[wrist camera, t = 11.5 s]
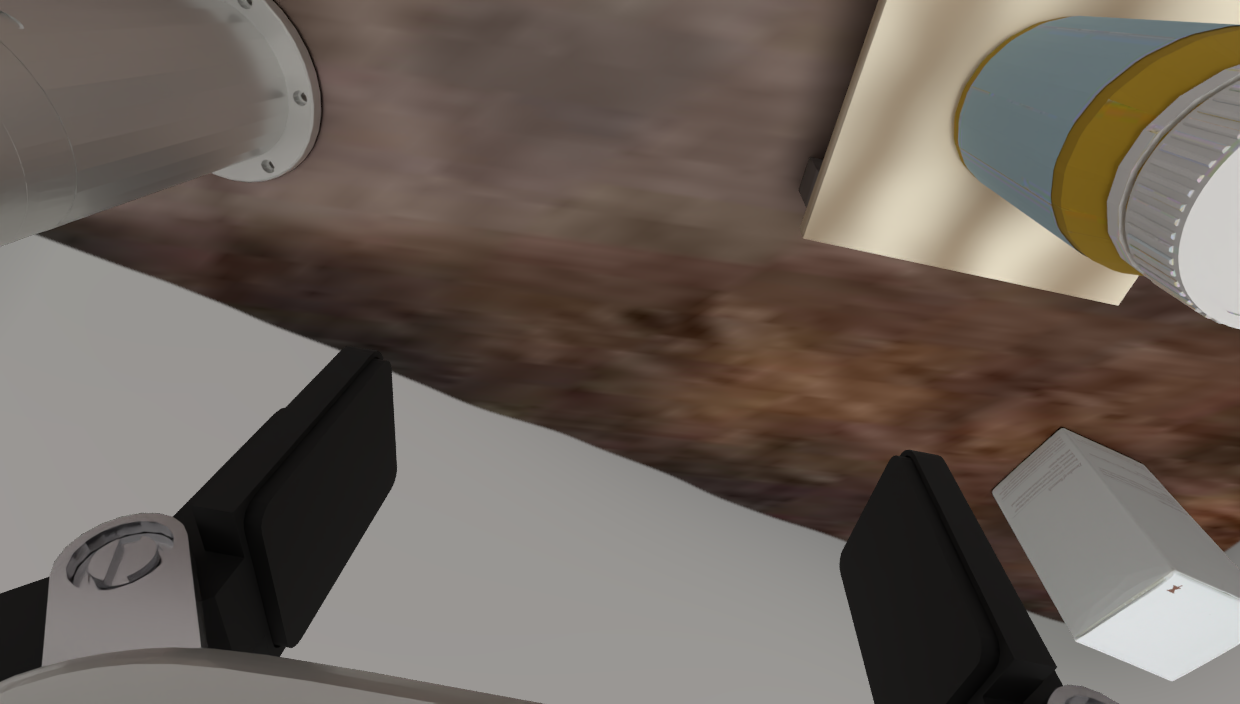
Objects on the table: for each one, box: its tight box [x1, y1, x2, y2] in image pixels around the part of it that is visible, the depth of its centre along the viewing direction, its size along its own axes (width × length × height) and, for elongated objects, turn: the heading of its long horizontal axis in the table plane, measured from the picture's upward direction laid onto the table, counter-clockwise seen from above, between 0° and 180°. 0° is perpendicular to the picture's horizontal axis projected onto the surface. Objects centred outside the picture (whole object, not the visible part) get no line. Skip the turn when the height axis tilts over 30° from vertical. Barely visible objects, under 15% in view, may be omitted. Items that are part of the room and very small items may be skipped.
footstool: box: [799, 0, 1240, 305], centre depth 29 cm, size 16×16×8 cm
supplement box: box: [992, 428, 1240, 681], centre depth 39 cm, size 7×7×13 cm
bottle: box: [954, 16, 1240, 329], centre depth 20 cm, size 7×7×15 cm
